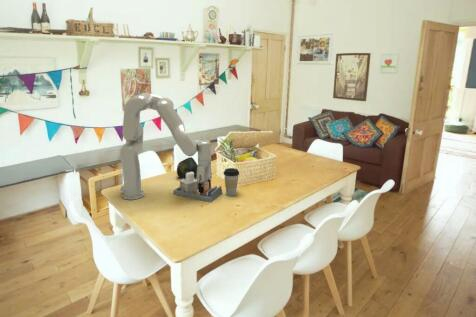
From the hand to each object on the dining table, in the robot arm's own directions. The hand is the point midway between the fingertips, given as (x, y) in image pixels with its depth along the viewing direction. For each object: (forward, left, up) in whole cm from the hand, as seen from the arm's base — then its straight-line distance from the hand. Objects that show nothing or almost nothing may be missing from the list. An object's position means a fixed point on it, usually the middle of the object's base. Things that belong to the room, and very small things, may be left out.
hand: (204, 189), depth 189 cm
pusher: (+5, 0, -4) cm, 6 cm away
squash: (-25, +21, -4) cm, 33 cm away
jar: (0, 0, -4) cm, 4 cm away
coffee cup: (+13, +9, -4) cm, 16 cm away
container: (-11, 0, -4) cm, 12 cm away
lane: (-5, 0, -4) cm, 6 cm away
